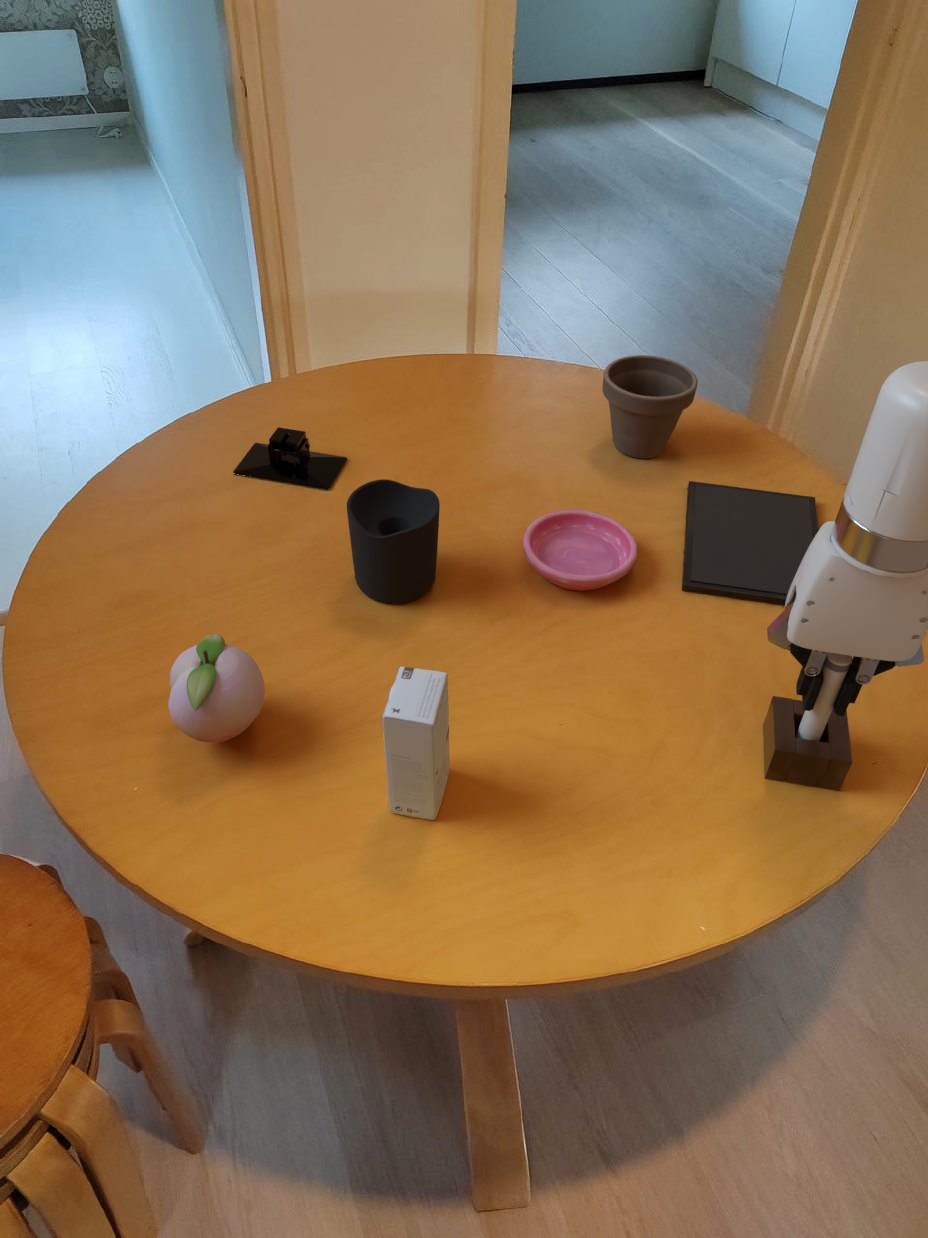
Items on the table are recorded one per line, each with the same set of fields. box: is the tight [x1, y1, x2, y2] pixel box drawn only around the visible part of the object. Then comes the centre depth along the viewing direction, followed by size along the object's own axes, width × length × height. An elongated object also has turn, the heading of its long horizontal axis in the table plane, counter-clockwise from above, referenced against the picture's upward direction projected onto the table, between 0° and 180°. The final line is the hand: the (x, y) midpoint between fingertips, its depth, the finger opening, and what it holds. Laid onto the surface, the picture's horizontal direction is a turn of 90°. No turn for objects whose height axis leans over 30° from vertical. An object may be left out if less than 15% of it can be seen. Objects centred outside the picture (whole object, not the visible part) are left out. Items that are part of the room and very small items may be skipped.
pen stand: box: [762, 695, 853, 792], centre depth 88 cm, size 6×6×4 cm
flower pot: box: [601, 354, 699, 459], centre depth 124 cm, size 12×11×10 cm
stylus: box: [795, 652, 853, 741], centre depth 85 cm, size 2×2×13 cm
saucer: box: [522, 509, 638, 591], centre depth 108 cm, size 12×12×3 cm
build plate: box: [232, 426, 348, 491], centre depth 121 cm, size 12×7×5 cm, turn 76°
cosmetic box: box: [382, 666, 451, 821], centre depth 82 cm, size 6×4×12 cm
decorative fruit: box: [167, 633, 266, 744], centre depth 87 cm, size 9×8×10 cm
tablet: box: [681, 480, 819, 606], centre depth 112 cm, size 15×20×1 cm
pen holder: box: [346, 478, 441, 605], centre depth 103 cm, size 9×9×10 cm
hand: (822, 700), depth 84 cm, fingers closed on stylus, 2 cm apart
